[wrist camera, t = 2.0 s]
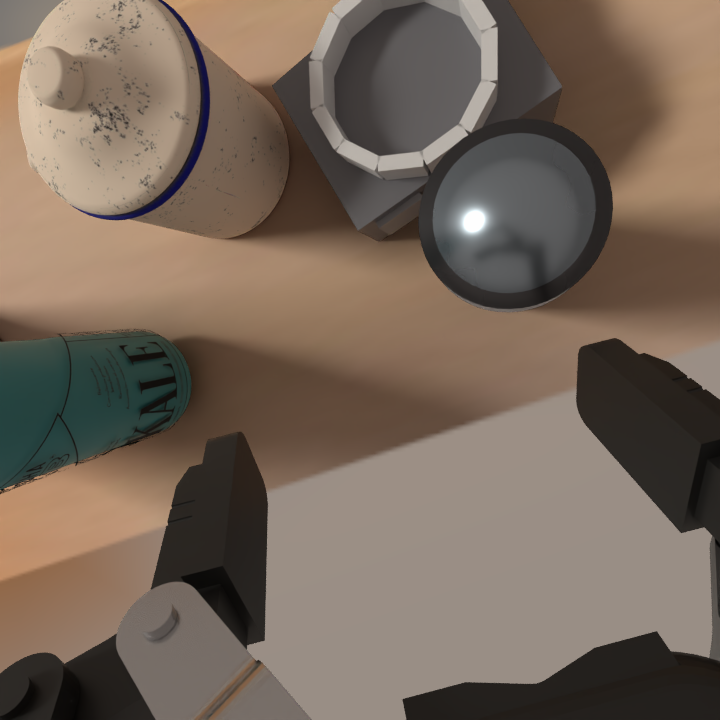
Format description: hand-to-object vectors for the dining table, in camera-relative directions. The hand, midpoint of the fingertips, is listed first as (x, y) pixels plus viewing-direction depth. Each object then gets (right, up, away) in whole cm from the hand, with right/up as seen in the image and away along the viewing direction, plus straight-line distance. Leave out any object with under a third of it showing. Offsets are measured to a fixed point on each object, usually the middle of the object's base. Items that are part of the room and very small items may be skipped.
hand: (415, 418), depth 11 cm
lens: (+6, +6, +13) cm, 16 cm away
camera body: (+2, +14, +13) cm, 19 cm away
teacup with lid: (-11, +13, +17) cm, 24 cm away
